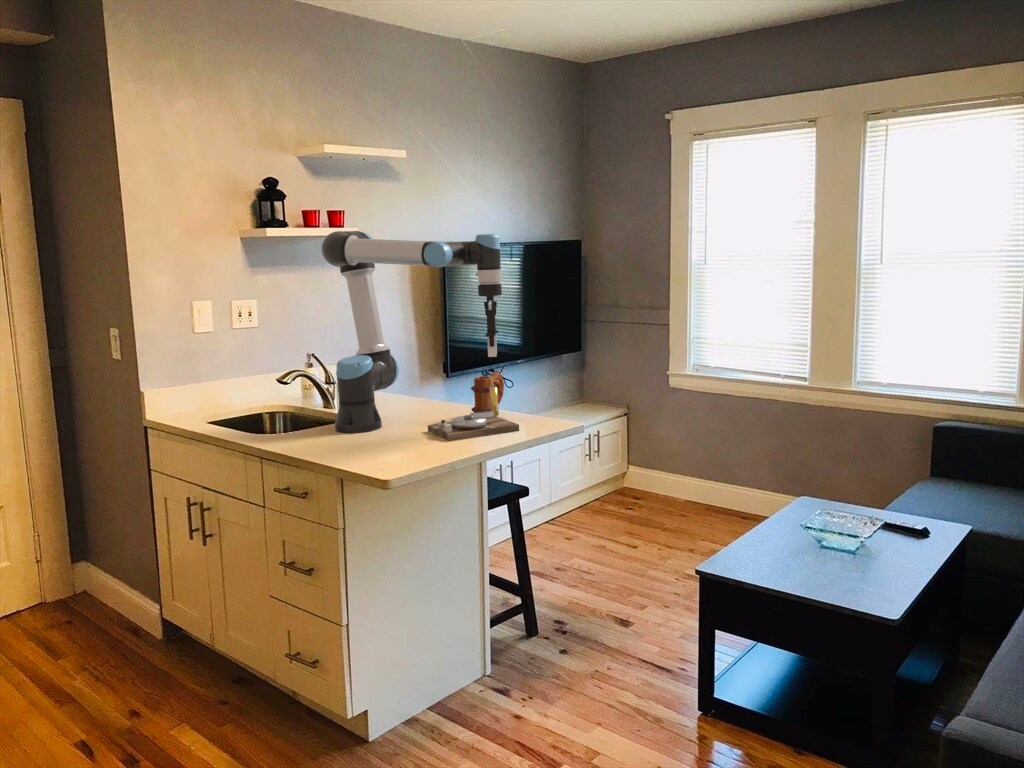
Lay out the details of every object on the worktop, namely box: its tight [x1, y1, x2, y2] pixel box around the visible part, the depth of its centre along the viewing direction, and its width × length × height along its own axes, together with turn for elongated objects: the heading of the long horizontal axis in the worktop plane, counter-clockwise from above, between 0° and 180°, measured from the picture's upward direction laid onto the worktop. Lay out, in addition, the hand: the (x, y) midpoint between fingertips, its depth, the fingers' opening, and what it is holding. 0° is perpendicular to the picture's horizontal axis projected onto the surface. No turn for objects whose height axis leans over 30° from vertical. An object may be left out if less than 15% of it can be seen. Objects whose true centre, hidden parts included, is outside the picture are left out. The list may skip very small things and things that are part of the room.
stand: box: [427, 416, 520, 442], centre depth 262 cm, size 17×24×5 cm
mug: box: [470, 371, 505, 413], centre depth 282 cm, size 15×8×15 cm, turn 143°
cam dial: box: [450, 387, 500, 429], centre depth 260 cm, size 16×11×11 cm
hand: (492, 355), depth 266 cm, fingers open, 7 cm apart
